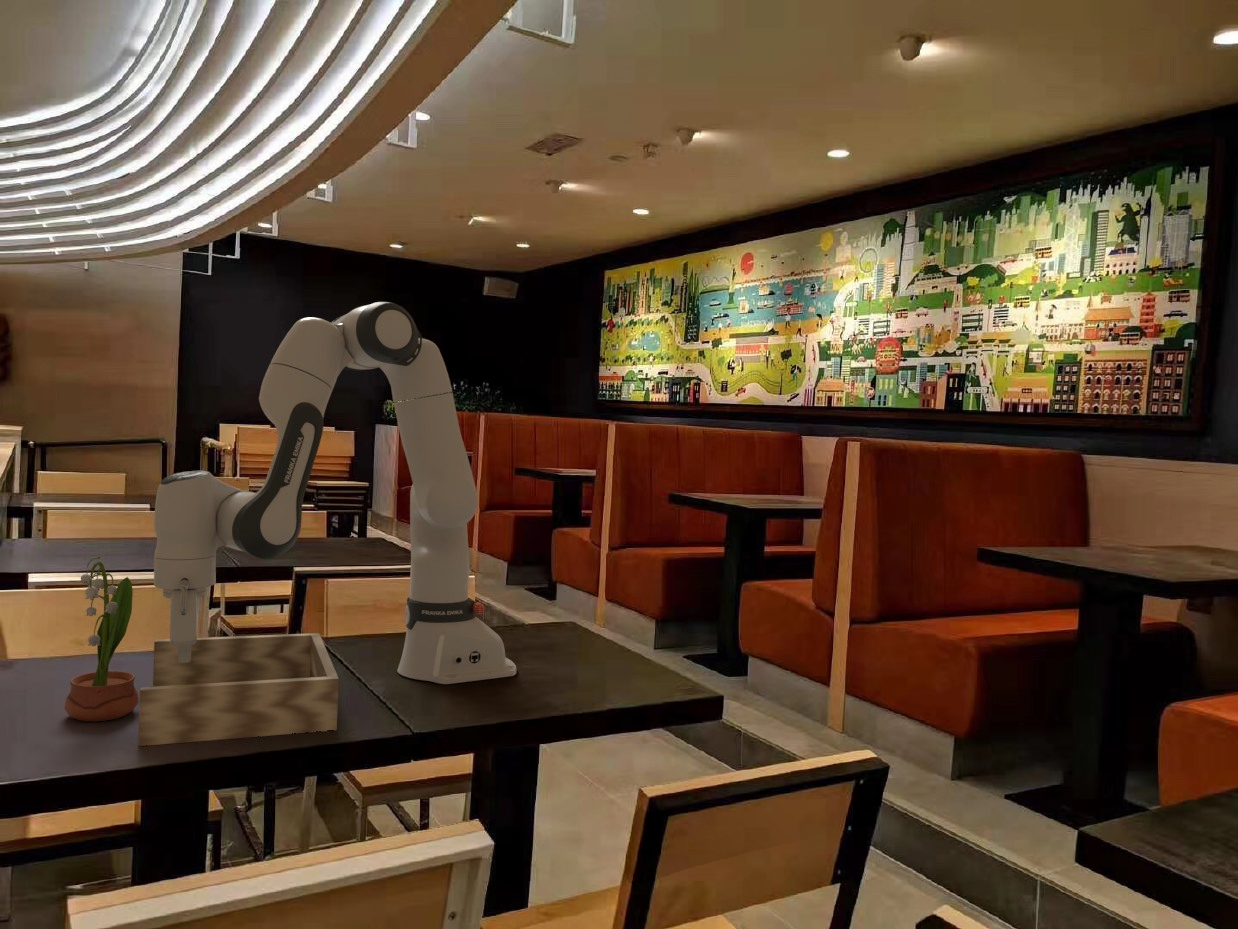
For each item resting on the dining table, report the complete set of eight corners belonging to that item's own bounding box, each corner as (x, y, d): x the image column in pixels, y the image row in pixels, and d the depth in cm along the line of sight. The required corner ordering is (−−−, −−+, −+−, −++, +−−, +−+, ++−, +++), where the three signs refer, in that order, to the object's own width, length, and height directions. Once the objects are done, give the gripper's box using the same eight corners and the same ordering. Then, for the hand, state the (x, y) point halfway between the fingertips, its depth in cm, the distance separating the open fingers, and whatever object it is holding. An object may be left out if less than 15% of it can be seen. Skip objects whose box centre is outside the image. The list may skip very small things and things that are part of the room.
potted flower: (115, 730, 135) (120, 562, 134) (43, 728, 135) (49, 559, 134) (149, 706, 147) (154, 551, 146) (83, 704, 146) (89, 548, 145)
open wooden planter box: (317, 676, 169) (319, 633, 168) (336, 730, 140) (338, 678, 140) (153, 685, 158) (154, 639, 158) (138, 746, 130) (139, 690, 129)
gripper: (206, 584, 136) (206, 676, 137) (207, 563, 155) (206, 644, 156) (159, 586, 134) (159, 680, 135) (165, 564, 153) (165, 647, 153)
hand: (184, 660), depth 145 cm, fingers closed
